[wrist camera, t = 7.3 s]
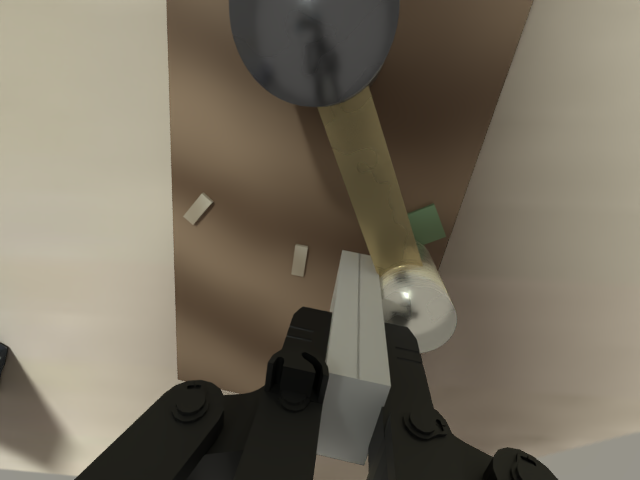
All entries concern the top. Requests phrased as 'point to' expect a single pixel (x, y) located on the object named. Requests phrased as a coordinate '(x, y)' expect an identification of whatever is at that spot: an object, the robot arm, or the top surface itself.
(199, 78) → the dial board
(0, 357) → the small box
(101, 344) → the top surface
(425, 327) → the lever
